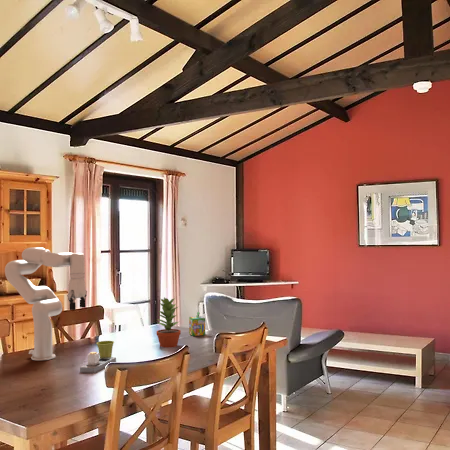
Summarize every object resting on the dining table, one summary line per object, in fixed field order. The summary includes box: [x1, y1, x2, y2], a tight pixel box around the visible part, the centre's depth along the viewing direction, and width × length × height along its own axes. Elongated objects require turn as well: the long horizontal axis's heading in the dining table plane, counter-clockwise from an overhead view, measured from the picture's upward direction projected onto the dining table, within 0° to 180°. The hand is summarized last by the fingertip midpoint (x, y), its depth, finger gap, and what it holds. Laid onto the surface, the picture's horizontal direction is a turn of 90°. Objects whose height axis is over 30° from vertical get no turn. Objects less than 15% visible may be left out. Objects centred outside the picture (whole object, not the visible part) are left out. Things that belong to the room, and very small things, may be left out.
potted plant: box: [156, 297, 181, 349], centre depth 313 cm, size 15×15×30 cm
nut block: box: [87, 351, 100, 366], centre depth 259 cm, size 4×4×8 cm
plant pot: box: [96, 340, 115, 358], centre depth 283 cm, size 9×9×9 cm
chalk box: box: [188, 311, 206, 337], centre depth 346 cm, size 9×9×15 cm
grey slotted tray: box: [79, 356, 117, 374], centre depth 264 cm, size 8×22×2 cm, turn 164°
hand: (77, 308), depth 276 cm, fingers open, 9 cm apart
